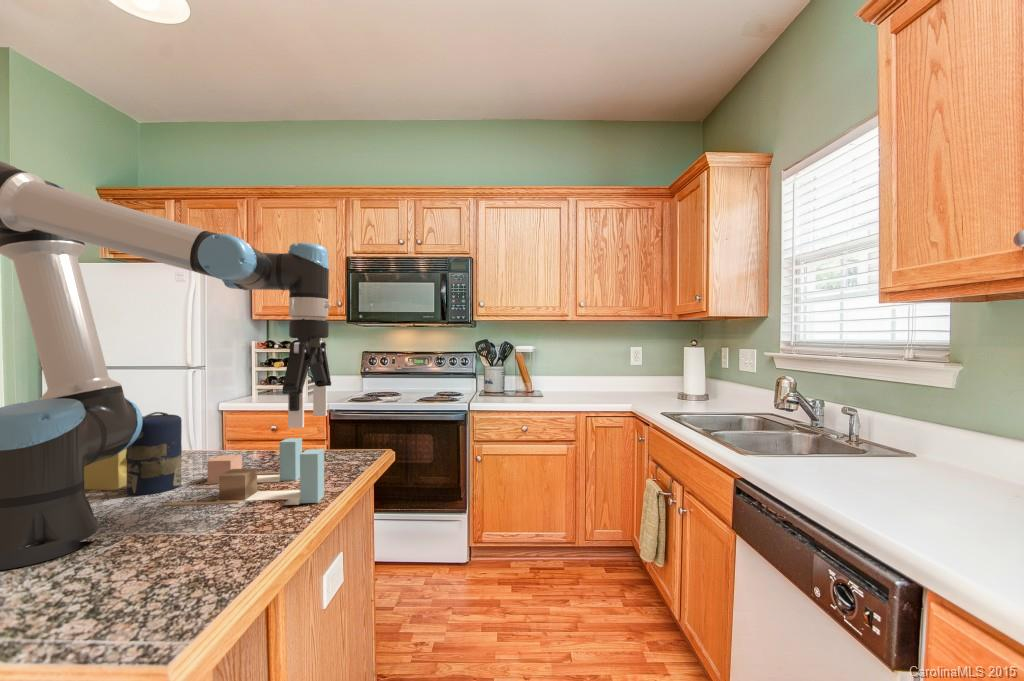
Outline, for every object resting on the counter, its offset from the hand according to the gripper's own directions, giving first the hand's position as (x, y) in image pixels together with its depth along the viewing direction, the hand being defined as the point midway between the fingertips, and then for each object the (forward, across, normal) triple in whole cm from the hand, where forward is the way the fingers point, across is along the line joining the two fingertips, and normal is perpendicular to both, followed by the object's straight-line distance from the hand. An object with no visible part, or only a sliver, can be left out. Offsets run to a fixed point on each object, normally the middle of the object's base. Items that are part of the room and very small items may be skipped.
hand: (308, 421), depth 95 cm
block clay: (+15, +12, +23) cm, 30 cm away
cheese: (+17, +16, +49) cm, 54 cm away
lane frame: (+17, +6, +19) cm, 26 cm away
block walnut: (+15, 0, +14) cm, 21 cm away
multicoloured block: (+16, 0, +7) cm, 18 cm away
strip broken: (+16, +12, +16) cm, 26 cm away
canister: (+17, +7, +35) cm, 40 cm away
